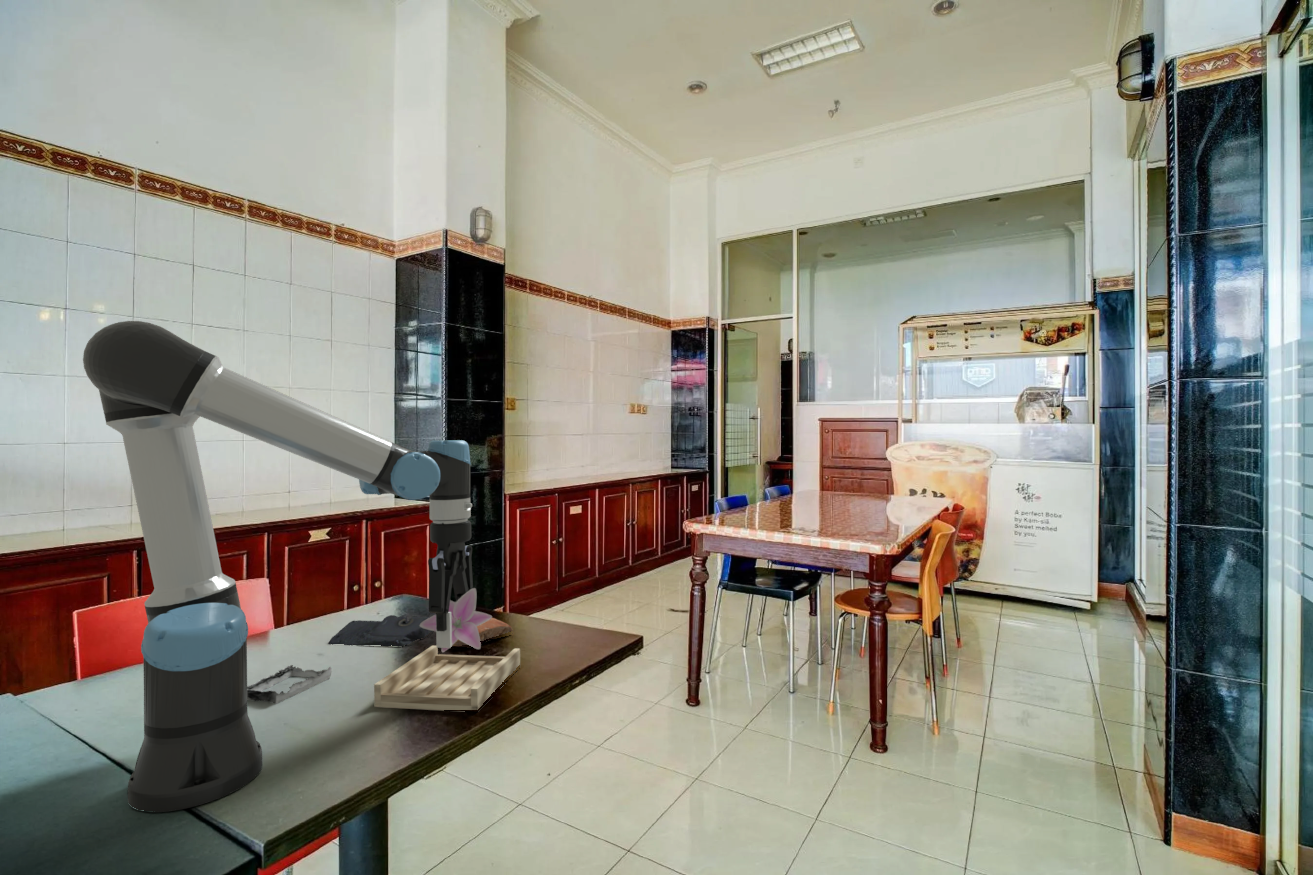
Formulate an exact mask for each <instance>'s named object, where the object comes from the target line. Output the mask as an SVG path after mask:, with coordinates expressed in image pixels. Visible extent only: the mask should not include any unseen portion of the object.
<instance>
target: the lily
mask: <svg viewBox="0 0 1313 875" xmlns="http://www.w3.org/2000/svg"><path fill="white" fill-rule="evenodd" d="M454 602H456V603H454ZM476 608H477V588H475V587H473V588H472V589H470V590H469V591H468V592H466V593H465V594H464V595H463V596H462V597H461V598H460V599H458V601H457V600H456V601H453V600H451V599H450V605H449V612H451V615H452V645H453V644H454V643H455V642H456V641H457V640H458V639H459V640H460V641H462V642H464V643H465V644H467V645H469V646H471V647H473V648H474V649H476V650H481V647H482V644H481V642H480V636H479V632H478V628H477V626H479V625H481V624H483V623H485V622H486V621H488V620H490V619H491V618H493V616H492V615H491V614H489V613H486V612H482V611H477V610H476ZM429 617H430V618H428V619H426V620H424V621H423V622H422V623H420V625H419V626H420V627H422V628H424V629H428V630H431V631H434V632H435V633H436V614H434V615H431V616H429ZM471 647H470V648H471ZM473 648H472V649H473ZM449 649H450V648H440V650H441V654H443V653H446V652H447V651H448V650H449Z"/></svg>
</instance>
